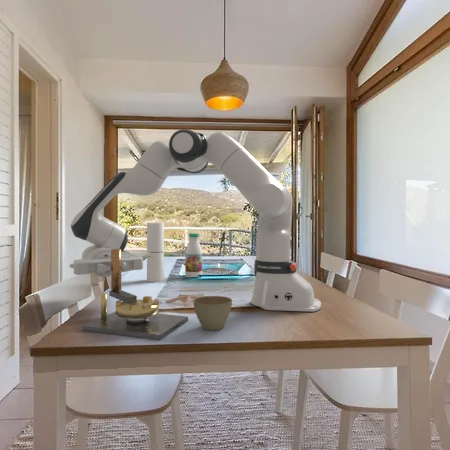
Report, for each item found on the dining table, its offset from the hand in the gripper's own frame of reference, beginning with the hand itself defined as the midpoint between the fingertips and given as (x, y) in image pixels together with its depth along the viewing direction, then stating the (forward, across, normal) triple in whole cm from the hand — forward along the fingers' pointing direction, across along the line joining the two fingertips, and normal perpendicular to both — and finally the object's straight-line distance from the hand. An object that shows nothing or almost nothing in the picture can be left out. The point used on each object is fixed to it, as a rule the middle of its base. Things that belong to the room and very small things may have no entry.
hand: (115, 268), depth 104 cm
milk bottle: (-44, +48, +14) cm, 66 cm away
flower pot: (+24, +18, +14) cm, 33 cm away
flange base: (+12, +2, +13) cm, 18 cm away
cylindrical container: (-44, +29, +14) cm, 55 cm away
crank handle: (+8, +2, +10) cm, 13 cm away
